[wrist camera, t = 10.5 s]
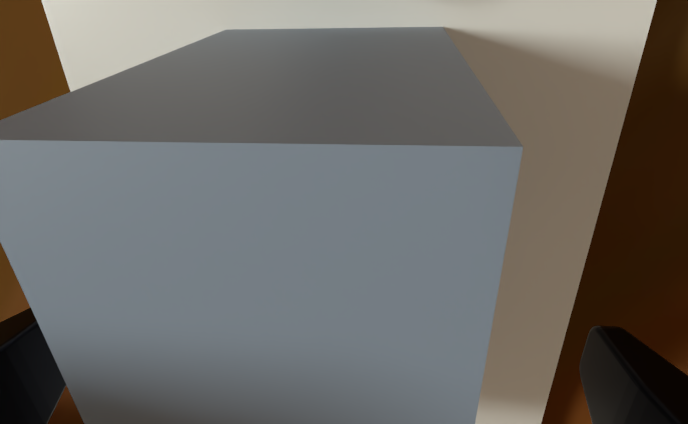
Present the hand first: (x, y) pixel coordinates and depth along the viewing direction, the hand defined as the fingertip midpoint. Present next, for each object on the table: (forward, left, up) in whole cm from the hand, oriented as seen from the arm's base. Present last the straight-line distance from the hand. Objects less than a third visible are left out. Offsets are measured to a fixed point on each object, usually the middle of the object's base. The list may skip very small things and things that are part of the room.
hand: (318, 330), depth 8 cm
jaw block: (0, 0, -3) cm, 3 cm away
